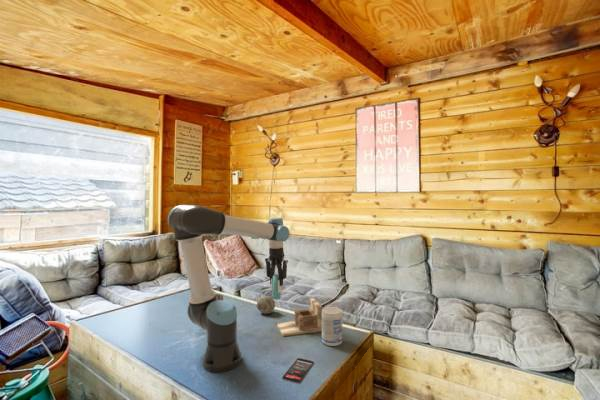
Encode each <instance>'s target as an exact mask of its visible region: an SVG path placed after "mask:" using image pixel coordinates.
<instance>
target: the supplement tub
mask: <svg viewBox="0 0 600 400" xmlns="http://www.w3.org/2000/svg"><path fill="white" fill-rule="evenodd" d="M321 341H322V343H323V344H324V345H326V346H329V347H336V346H339V345H341V344H342V343H343V311H342V309H341V308H340V307H337V306H325V307H322V331H321Z"/></svg>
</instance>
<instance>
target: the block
mask: <svg viewBox="0 0 600 400" xmlns="http://www.w3.org/2000/svg"><path fill="white" fill-rule="evenodd" d="M294 321H295V323H296V325H297V326H298V328H299V329H300V330H302V329H309V328H316V327H317V315H316V314H315V313H314V312H313V310H312V309H310V308H308V309H298V310H295V311H294Z"/></svg>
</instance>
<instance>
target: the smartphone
mask: <svg viewBox="0 0 600 400" xmlns="http://www.w3.org/2000/svg"><path fill="white" fill-rule="evenodd" d="M314 363H315V361H313V360H309V359H305V358H300V357H298V358H296V360H295V361H294V362H293V363H292V365H290V367H289V368H288V370H286V372H285V373H284V374H283V376H282V377H281V379H282V381H283V380H284V381H288V382H291V383H295V384H301V383H302V382H303V381H304V378H305V377H306V376H307V374H308V373H309V371H310V369H311V368H312V367H313V365H314Z"/></svg>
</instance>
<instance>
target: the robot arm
mask: <svg viewBox="0 0 600 400" xmlns="http://www.w3.org/2000/svg"><path fill="white" fill-rule="evenodd" d="M167 224H168V226H169V228H170V229H171V230H172V231H173V234H174V239H175V241H176V242H179V244H180V248H181V252H182V257H183V261H184V262H183V263H184V266H185V271H186V277H187V280H188V285H189V286H188V287H189V291H190V297H188V305H187V307H186V309H187V310H186V314H187V316H188V319H189V320H190V321H191V322H192V323H193V324H194V325H195V326H196V325H197V326H198V327H199V328H201V329H202V330H204V331H206V334H207V335H206V338H207V340H206V341H207V343H206V344H207V345H206V348H205V351H204V355H203V358H202V366H203V368H204V370H206V371H208V372H212V373H222V372H224V373H225V372H228V371H230V370H234V369H235V368H237V367H238V366H239V365H240V364H241V362H242V352H241V349H240V347H239V344H238V340H237V339H238V337H237V336H238V335H237V333H238V332H237V330H238V328H237V327H238V326H237V324H238V323H237V322H238V321H237V317H238V315H237V313H238V312H237V307H236V305H235V303H233V302H232V301H230V300H224V299H223V300H218V301H217V296H216V294H217V293H216V291H215V290H213V289H212V285H211V279H210V276H209V271H208V265H207V260H206V255H205V250H204V244H203V239H202V238H203V236H204V235H212V236H221V234H224V235H230V236H232V235H233V236H240V237H246V238H247V237H248V238H251V239H253V240H259V239H262V240H267V241H268V247H269V248H268V254H269V257H266V258H264V262H265V267H266V277H267V278H269V284H270V289H271V292H273V275H275V272H276V269H277V273H278V274H277V275H279V279H278V292H280V293H281V292H283V286H284V280H285V279H287V275H288V274H287V273H288V272H287V271H288V263H289V260H288V259H284V242H286V241H287V240H289V236H290V230H289V227H287V226H286V225H284V220H283V218H281V217H270V218H269V219H268V222H264V221H259V220H252V219H247V218H242V217H237V216H232V215H228V214H226V213H224V212H223V211H219V210H216V209H212V208H207V207H205V206H202V205H199V204H198V205H197V204H194V205H193V204H186V203H185V204H179V205H176V206H175V207H173V208H171V210H170V211H169V213H168V216H167Z"/></svg>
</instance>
